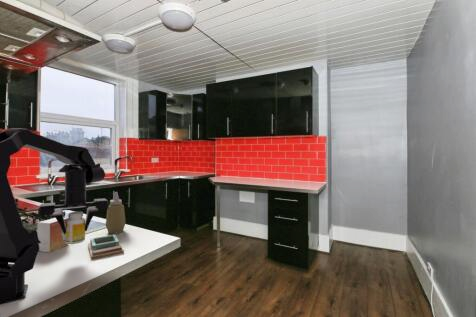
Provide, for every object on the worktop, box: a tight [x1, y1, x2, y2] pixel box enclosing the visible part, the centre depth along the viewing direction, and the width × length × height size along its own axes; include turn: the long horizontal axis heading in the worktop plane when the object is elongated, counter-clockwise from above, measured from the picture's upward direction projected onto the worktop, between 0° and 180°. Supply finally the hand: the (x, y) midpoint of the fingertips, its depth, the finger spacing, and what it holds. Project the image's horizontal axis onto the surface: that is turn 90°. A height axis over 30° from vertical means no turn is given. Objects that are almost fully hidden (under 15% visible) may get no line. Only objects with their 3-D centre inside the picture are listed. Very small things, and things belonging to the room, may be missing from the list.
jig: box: [87, 234, 125, 261], centre depth 89 cm, size 14×10×3 cm
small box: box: [36, 217, 70, 253], centre depth 90 cm, size 8×6×10 cm
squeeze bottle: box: [105, 191, 126, 235], centre depth 108 cm, size 8×8×18 cm
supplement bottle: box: [65, 210, 86, 245], centre depth 80 cm, size 5×5×10 cm
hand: (75, 232), depth 80 cm, fingers closed on supplement bottle, 5 cm apart
